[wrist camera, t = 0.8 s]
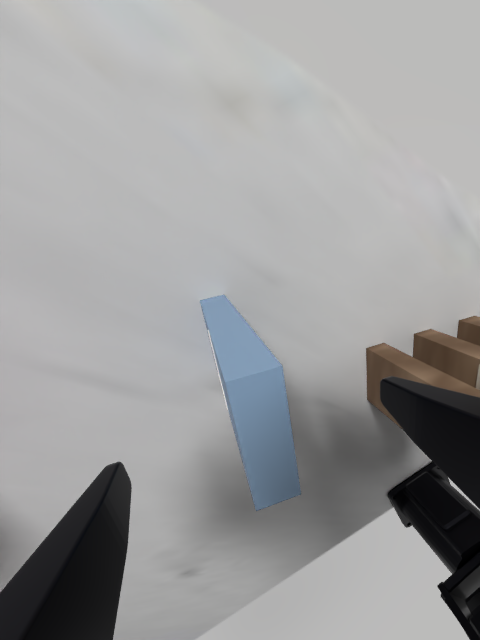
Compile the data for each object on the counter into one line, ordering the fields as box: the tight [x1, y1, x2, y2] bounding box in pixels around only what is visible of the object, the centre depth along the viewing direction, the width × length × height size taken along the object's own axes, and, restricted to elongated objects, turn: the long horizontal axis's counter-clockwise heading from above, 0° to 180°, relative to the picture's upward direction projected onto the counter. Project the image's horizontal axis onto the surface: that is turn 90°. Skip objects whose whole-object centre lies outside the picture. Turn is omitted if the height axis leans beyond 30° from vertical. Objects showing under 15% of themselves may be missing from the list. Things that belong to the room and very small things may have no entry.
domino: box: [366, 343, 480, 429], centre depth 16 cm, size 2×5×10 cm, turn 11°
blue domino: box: [200, 295, 301, 511], centre depth 12 cm, size 2×5×10 cm, turn 11°
